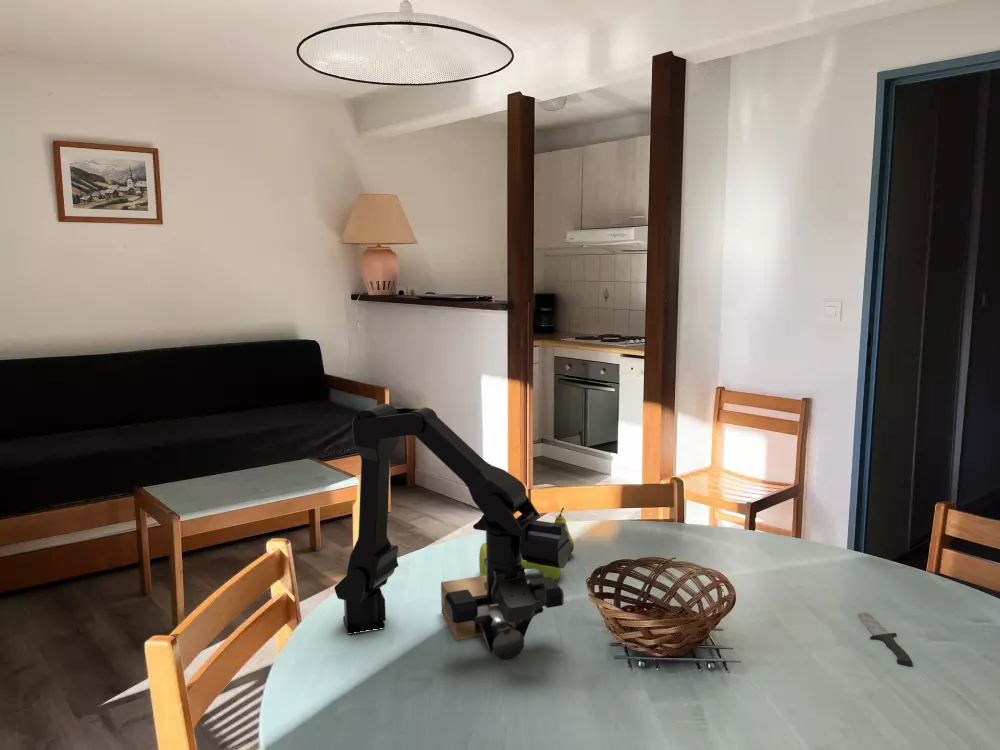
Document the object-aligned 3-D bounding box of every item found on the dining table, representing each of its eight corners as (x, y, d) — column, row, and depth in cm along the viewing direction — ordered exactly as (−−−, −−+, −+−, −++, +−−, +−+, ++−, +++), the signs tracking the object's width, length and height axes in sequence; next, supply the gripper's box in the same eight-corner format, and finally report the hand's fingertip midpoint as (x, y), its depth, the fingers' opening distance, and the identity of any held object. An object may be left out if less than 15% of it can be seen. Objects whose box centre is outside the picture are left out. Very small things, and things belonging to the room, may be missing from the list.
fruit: (578, 555, 166) (578, 501, 164) (566, 564, 161) (566, 509, 159) (555, 550, 169) (555, 497, 167) (543, 558, 164) (543, 505, 162)
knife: (837, 601, 142) (865, 601, 142) (837, 606, 143) (865, 606, 142) (893, 660, 120) (926, 661, 120) (893, 667, 120) (926, 667, 120)
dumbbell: (558, 569, 159) (558, 536, 158) (562, 585, 151) (563, 551, 150) (479, 571, 158) (478, 538, 157) (479, 588, 150) (479, 553, 149)
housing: (456, 639, 130) (455, 605, 129) (441, 614, 139) (441, 582, 138) (522, 628, 134) (522, 594, 133) (503, 603, 143) (503, 572, 142)
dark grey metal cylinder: (493, 662, 122) (493, 632, 121) (467, 621, 135) (467, 594, 135) (524, 657, 123) (524, 626, 123) (495, 617, 137) (495, 589, 136)
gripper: (462, 586, 111) (463, 685, 114) (578, 568, 117) (577, 662, 120) (442, 558, 122) (444, 649, 124) (550, 542, 128) (550, 630, 130)
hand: (504, 648), depth 124 cm, fingers closed on dark grey metal cylinder, 4 cm apart
